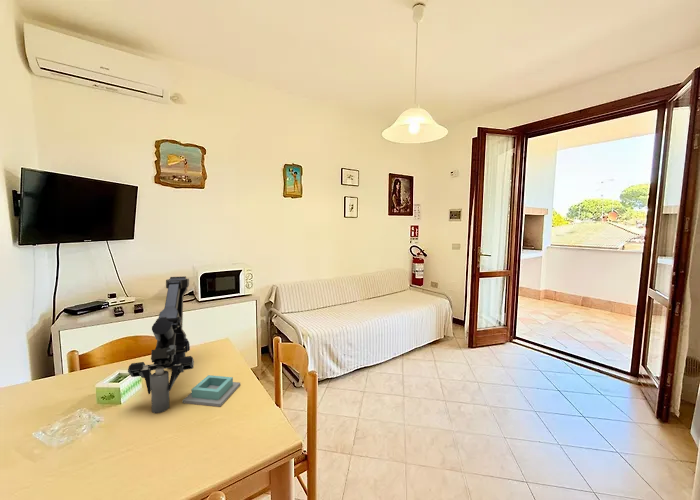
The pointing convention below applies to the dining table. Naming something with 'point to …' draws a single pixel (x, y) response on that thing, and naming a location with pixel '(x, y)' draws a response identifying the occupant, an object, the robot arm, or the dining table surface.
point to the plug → (160, 390)
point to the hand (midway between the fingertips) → (159, 392)
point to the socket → (212, 391)
